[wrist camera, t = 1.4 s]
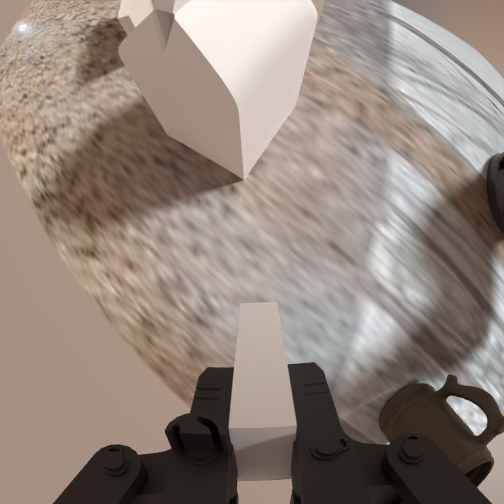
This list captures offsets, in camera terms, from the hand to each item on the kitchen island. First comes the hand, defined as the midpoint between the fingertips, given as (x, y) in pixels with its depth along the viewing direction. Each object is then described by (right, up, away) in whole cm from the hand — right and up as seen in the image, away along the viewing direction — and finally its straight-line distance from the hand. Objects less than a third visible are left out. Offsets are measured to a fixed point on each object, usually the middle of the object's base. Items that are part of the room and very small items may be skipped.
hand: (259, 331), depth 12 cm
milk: (-3, +20, +21) cm, 29 cm away
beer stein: (+25, -20, +24) cm, 40 cm away
